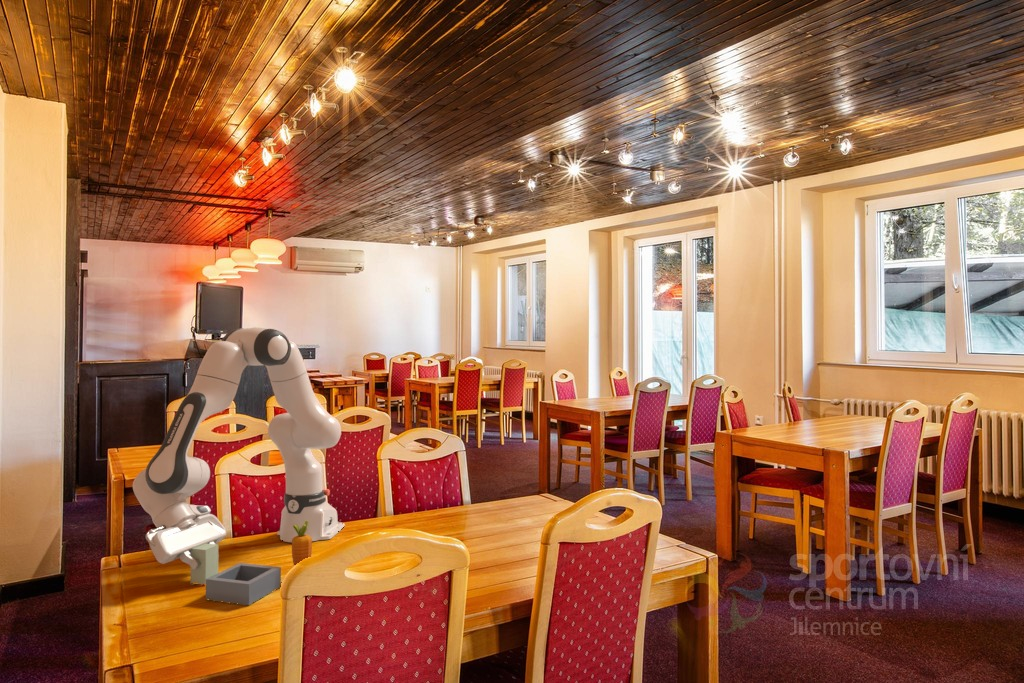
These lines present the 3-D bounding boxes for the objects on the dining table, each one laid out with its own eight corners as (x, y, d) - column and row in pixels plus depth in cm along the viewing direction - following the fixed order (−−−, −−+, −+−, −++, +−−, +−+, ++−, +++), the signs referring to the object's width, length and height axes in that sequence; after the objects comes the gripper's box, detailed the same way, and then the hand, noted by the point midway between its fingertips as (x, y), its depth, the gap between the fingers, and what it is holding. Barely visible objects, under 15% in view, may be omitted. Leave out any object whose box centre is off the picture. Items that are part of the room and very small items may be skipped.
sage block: (203, 577, 167) (203, 543, 167) (218, 579, 166) (218, 544, 166) (190, 584, 163) (190, 548, 163) (205, 585, 161) (205, 549, 161)
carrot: (290, 584, 163) (291, 524, 163) (292, 577, 167) (292, 519, 168) (311, 582, 164) (311, 523, 164) (312, 575, 169) (312, 518, 169)
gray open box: (239, 582, 164) (239, 562, 164) (280, 587, 160) (280, 567, 161) (205, 600, 152) (205, 579, 152) (249, 605, 149) (249, 584, 149)
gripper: (149, 524, 157) (180, 568, 153) (213, 504, 176) (242, 543, 173) (135, 540, 158) (166, 585, 155) (199, 519, 177) (228, 558, 174)
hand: (206, 563), depth 164 cm, fingers closed on sage block, 5 cm apart
